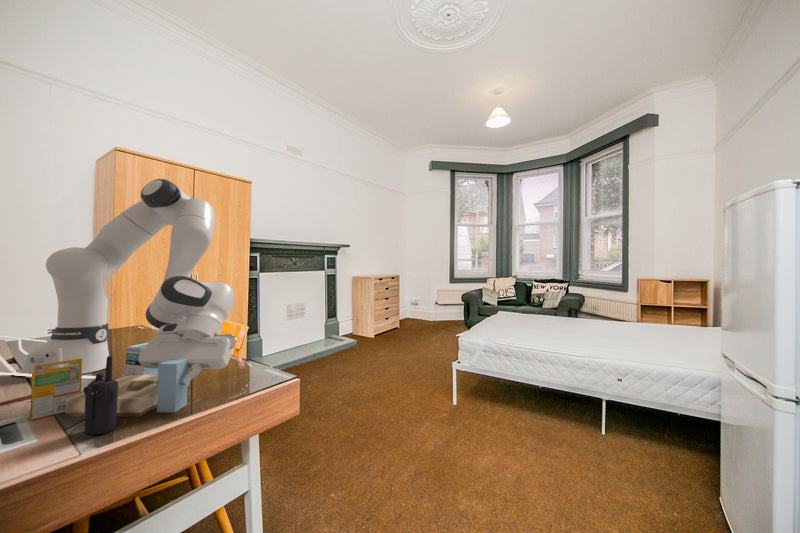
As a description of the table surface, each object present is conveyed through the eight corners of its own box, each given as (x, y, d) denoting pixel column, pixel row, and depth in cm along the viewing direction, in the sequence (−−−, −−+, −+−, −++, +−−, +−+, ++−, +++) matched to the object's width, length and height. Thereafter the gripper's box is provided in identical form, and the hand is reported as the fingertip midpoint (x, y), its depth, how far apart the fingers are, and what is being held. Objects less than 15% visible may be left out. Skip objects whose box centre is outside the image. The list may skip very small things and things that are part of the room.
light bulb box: (142, 387, 82) (144, 348, 83) (123, 385, 84) (124, 346, 84) (178, 375, 93) (179, 340, 93) (160, 373, 94) (162, 338, 95)
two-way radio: (120, 428, 61) (124, 354, 61) (95, 440, 57) (99, 360, 57) (98, 425, 62) (101, 352, 62) (71, 437, 57) (75, 358, 58)
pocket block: (65, 416, 65) (65, 398, 66) (128, 388, 81) (128, 374, 81) (140, 416, 66) (141, 399, 66) (188, 388, 82) (189, 374, 82)
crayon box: (78, 405, 71) (80, 356, 71) (80, 408, 69) (83, 358, 70) (29, 416, 65) (32, 363, 65) (30, 420, 63) (33, 365, 64)
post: (156, 412, 68) (158, 363, 68) (169, 404, 72) (171, 358, 72) (175, 412, 68) (176, 363, 69) (186, 404, 72) (188, 358, 73)
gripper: (242, 341, 83) (221, 390, 72) (165, 339, 81) (133, 389, 71) (235, 327, 78) (212, 378, 68) (154, 326, 77) (118, 377, 67)
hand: (171, 384), depth 70 cm, fingers closed on post, 4 cm apart
